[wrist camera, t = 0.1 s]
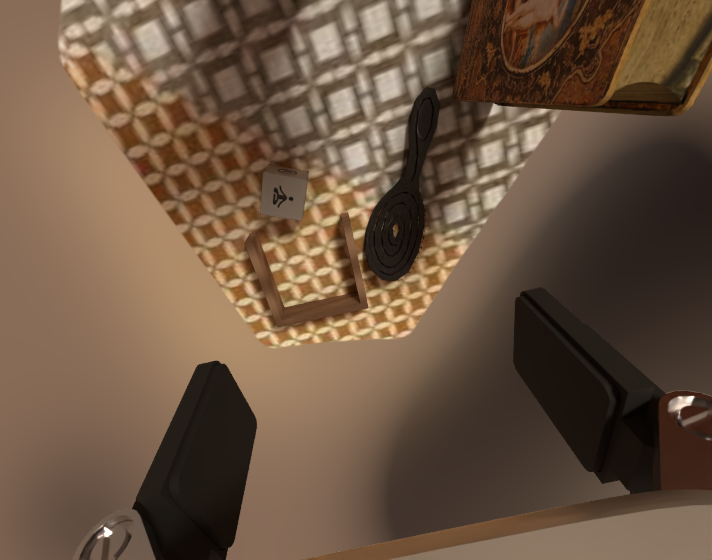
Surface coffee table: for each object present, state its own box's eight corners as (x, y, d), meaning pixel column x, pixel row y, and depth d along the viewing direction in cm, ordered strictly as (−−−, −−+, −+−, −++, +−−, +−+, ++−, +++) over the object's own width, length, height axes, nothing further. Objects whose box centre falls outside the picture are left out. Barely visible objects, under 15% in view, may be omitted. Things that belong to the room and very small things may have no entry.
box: (249, 233, 46) (244, 243, 43) (348, 212, 46) (349, 220, 43) (280, 313, 53) (277, 327, 50) (365, 295, 53) (368, 308, 50)
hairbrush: (470, 94, 38) (416, 287, 49) (458, 95, 41) (410, 276, 52) (400, 79, 37) (360, 280, 47) (394, 81, 40) (357, 269, 51)
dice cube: (269, 164, 42) (263, 172, 38) (308, 171, 43) (307, 180, 39) (266, 202, 44) (260, 214, 40) (304, 208, 45) (302, 220, 41)
